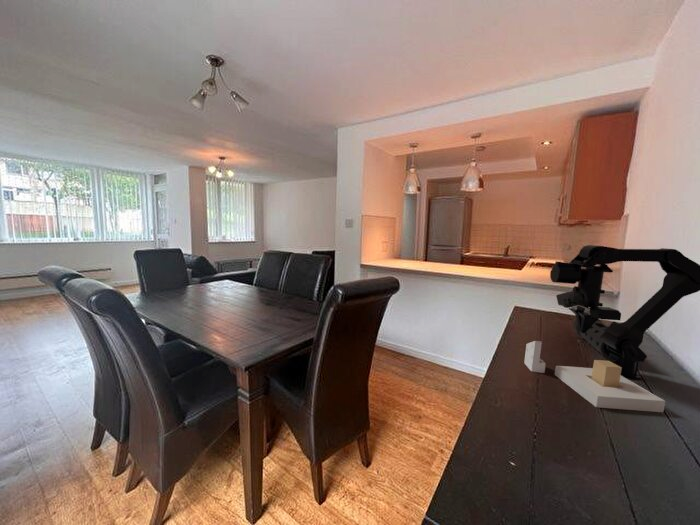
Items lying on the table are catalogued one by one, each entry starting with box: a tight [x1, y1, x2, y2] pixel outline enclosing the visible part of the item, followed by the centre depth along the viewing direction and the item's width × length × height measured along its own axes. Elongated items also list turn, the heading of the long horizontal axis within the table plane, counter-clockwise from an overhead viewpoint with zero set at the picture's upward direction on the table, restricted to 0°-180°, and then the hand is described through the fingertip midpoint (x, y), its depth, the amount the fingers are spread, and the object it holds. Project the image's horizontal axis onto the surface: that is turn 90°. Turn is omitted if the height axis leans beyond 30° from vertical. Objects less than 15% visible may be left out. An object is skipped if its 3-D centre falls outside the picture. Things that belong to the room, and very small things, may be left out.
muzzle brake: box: [572, 318, 613, 360], centre depth 109 cm, size 10×28×10 cm, turn 158°
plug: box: [591, 359, 622, 388], centre depth 78 cm, size 4×4×8 cm
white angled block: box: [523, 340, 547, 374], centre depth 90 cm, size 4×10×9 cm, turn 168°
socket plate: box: [554, 365, 666, 413], centre depth 79 cm, size 16×16×3 cm
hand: (582, 332), depth 91 cm, fingers closed
